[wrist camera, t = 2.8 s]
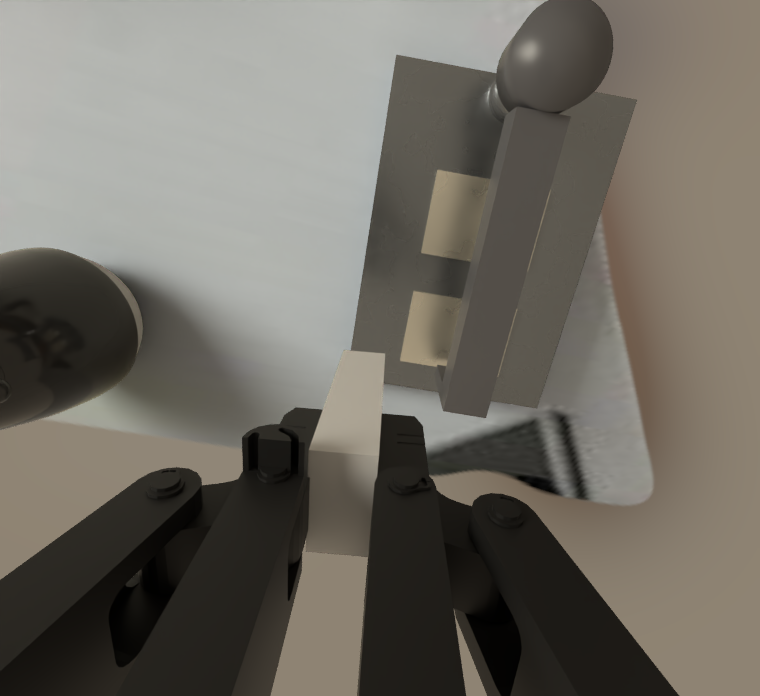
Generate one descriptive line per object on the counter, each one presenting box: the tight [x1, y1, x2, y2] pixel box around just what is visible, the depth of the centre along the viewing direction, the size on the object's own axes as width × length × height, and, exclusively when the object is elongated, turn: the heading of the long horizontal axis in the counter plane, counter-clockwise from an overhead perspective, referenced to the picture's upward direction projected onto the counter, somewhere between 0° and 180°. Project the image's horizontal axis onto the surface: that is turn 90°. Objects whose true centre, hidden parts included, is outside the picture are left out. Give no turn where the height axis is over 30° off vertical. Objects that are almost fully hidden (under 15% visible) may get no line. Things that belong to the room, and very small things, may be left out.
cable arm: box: [435, 0, 613, 418], centre depth 22 cm, size 19×4×6 cm, turn 170°
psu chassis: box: [351, 55, 637, 408], centre depth 26 cm, size 20×14×6 cm
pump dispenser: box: [0, 248, 143, 430], centre depth 24 cm, size 10×10×15 cm
